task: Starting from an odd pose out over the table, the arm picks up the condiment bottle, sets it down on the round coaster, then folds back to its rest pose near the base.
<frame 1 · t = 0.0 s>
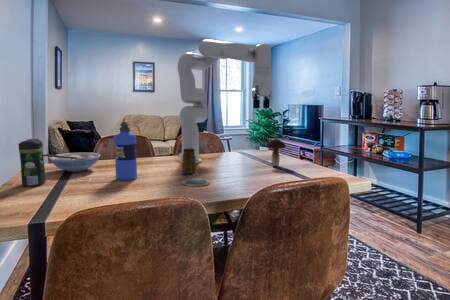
hand: (261, 108, 156), 31 cm above the table, tool pointing down, fingers open, 9 cm apart
water bottle: (126, 178, 145), on the table
decorative mushroom: (275, 167, 175), on the table
condiment: (189, 174, 155), on the table
coffee jar: (34, 184, 133), on the table
coaster: (195, 183, 138), on the table
ramen bowl: (76, 171, 160), on the table
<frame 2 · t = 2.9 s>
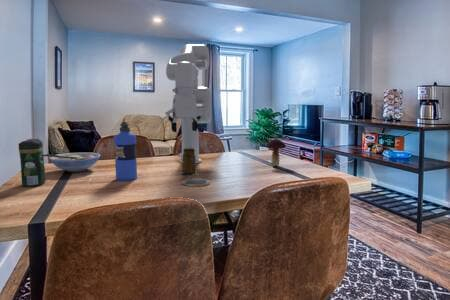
hand: (184, 131, 143), 21 cm above the table, tool pointing down, fingers open, 9 cm apart
nothing on the table moved.
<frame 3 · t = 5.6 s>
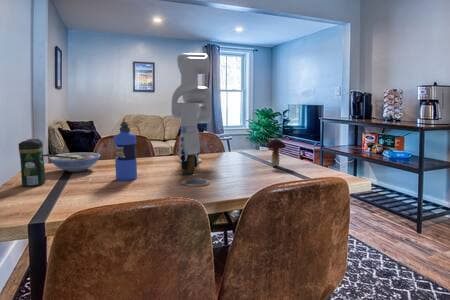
hand: (189, 167, 155), 3 cm above the table, tool pointing down, fingers closed on condiment, 6 cm apart
condiment: (188, 174, 155), on the table, touching gripper
everything else where it was.
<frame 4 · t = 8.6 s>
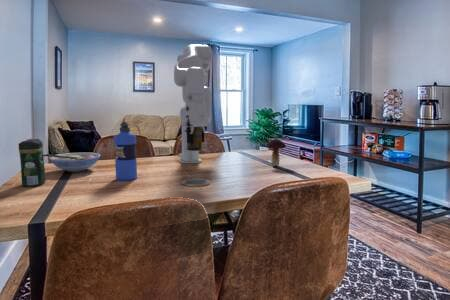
hand: (195, 142, 135), 17 cm above the table, tool pointing down, fingers closed on condiment, 6 cm apart
condiment: (194, 150, 135), point 14 cm above the table, touching gripper
everything else where it was.
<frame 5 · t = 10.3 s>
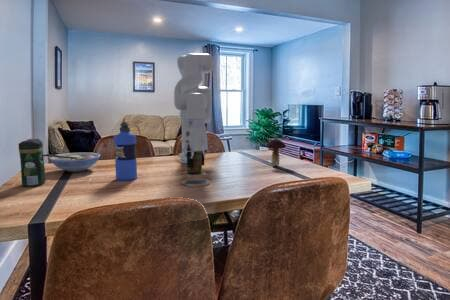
hand: (195, 165, 136), 7 cm above the table, tool pointing down, fingers closed on condiment, 6 cm apart
condiment: (195, 173, 136), point 4 cm above the table, touching gripper
everything else where it was.
when the fingers open (5 cm above the table, at t = 11.7 s): condiment drops 1 cm, resting on coaster.
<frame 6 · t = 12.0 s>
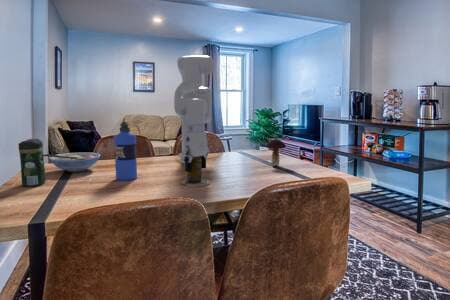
hand: (195, 169, 137), 6 cm above the table, tool pointing down, fingers open, 8 cm apart
condiment: (194, 182, 137), resting on coaster
everything else where it was.
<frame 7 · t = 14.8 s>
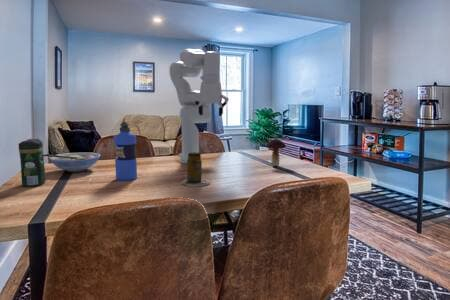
hand: (210, 115, 157), 28 cm above the table, tool pointing down, fingers open, 9 cm apart
nothing on the table moved.
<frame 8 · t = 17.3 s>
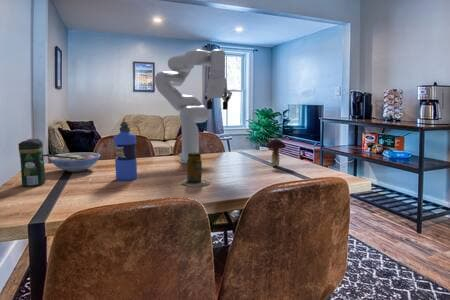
hand: (217, 109, 167), 30 cm above the table, tool pointing down, fingers open, 9 cm apart
nothing on the table moved.
at the end: condiment 0.5 cm from the coaster (horizontally); condiment tilted 0°; condiment point 0.5 cm above the table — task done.
